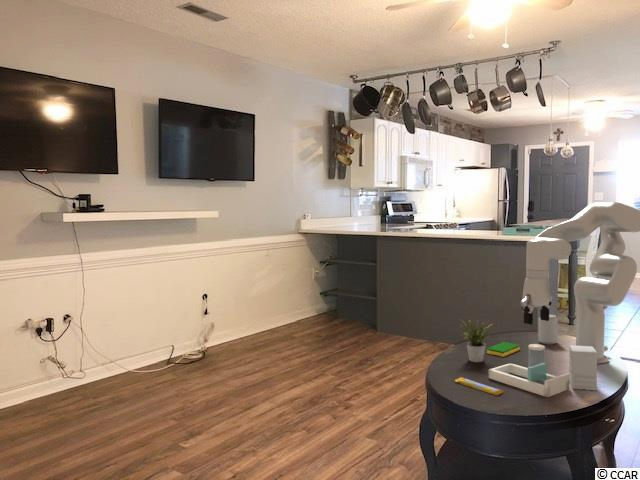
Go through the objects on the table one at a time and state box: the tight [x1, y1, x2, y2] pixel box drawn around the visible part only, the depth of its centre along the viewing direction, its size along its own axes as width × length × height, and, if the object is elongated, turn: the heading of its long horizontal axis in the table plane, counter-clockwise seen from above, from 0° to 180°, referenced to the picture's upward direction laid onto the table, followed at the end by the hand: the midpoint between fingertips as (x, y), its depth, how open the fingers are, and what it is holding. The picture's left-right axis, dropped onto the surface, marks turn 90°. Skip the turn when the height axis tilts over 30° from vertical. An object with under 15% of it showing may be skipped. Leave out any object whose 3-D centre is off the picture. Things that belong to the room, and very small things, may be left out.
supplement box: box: [568, 344, 598, 391], centre depth 169 cm, size 7×7×13 cm
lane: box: [488, 362, 570, 398], centre depth 172 cm, size 12×22×5 cm, turn 34°
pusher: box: [527, 362, 547, 385], centre depth 168 cm, size 8×5×7 cm, turn 124°
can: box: [537, 313, 559, 345], centre depth 221 cm, size 8×8×12 cm
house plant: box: [457, 318, 494, 363], centre depth 198 cm, size 14×14×16 cm
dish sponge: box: [486, 341, 521, 357], centre depth 209 cm, size 7×14×2 cm, turn 132°
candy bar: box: [454, 376, 504, 396], centre depth 169 cm, size 17×4×2 cm, turn 37°
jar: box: [528, 343, 546, 367], centre depth 185 cm, size 5×5×9 cm
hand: (536, 322), depth 184 cm, fingers open, 9 cm apart
